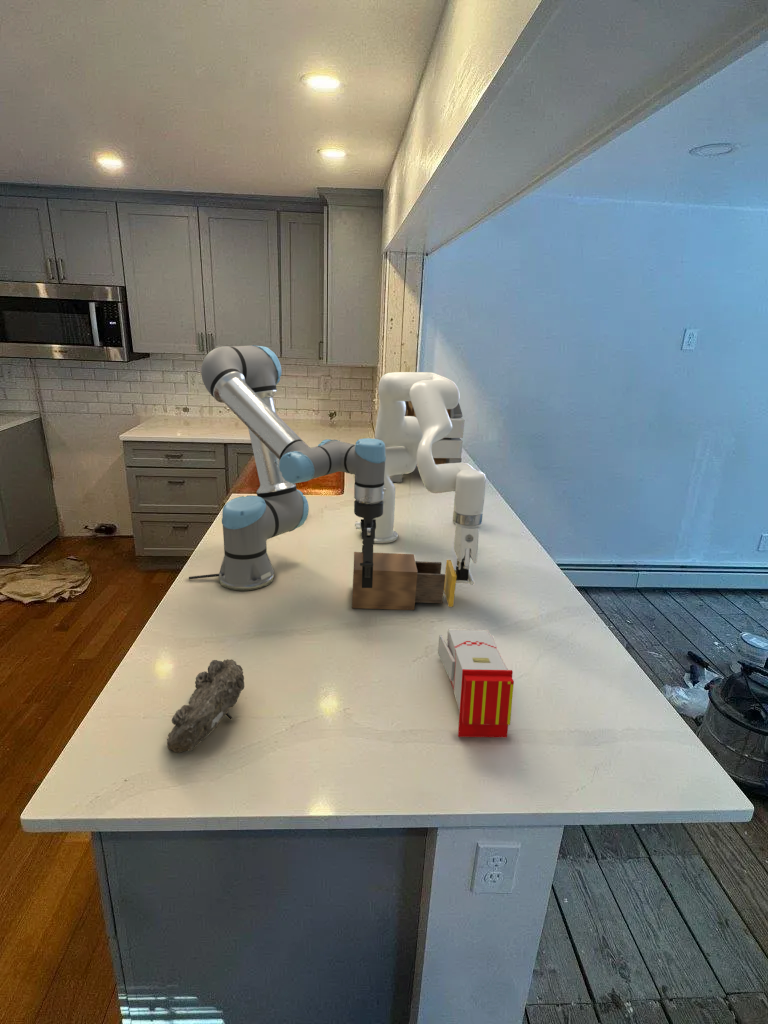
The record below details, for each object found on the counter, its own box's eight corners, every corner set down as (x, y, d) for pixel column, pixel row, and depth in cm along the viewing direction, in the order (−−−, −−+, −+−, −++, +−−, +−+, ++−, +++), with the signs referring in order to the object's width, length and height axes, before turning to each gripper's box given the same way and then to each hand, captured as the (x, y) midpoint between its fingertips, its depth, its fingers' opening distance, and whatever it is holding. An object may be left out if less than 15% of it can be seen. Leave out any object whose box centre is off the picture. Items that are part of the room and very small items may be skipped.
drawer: (466, 589, 160) (469, 560, 157) (472, 607, 151) (476, 576, 148) (394, 587, 159) (396, 557, 156) (396, 605, 150) (398, 574, 147)
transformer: (382, 463, 289) (386, 382, 275) (445, 464, 293) (451, 384, 279) (390, 482, 257) (394, 392, 243) (460, 483, 261) (468, 394, 247)
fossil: (192, 660, 117) (244, 628, 112) (224, 691, 120) (276, 661, 115) (142, 746, 98) (202, 712, 93) (182, 779, 101) (242, 748, 96)
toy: (488, 613, 130) (523, 677, 101) (484, 667, 133) (517, 744, 104) (435, 612, 130) (455, 676, 101) (432, 666, 133) (451, 743, 103)
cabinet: (410, 590, 160) (413, 554, 157) (414, 610, 150) (417, 572, 146) (352, 588, 160) (354, 551, 156) (351, 608, 149) (353, 569, 145)
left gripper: (385, 516, 134) (382, 598, 141) (382, 486, 156) (379, 558, 163) (353, 515, 133) (352, 597, 141) (354, 485, 156) (353, 558, 163)
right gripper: (487, 528, 140) (480, 594, 147) (476, 508, 154) (470, 569, 161) (457, 527, 140) (451, 593, 146) (449, 507, 154) (443, 568, 160)
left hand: (366, 576), depth 152 cm, fingers closed on cabinet, 11 cm apart
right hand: (461, 580), depth 153 cm, fingers closed
